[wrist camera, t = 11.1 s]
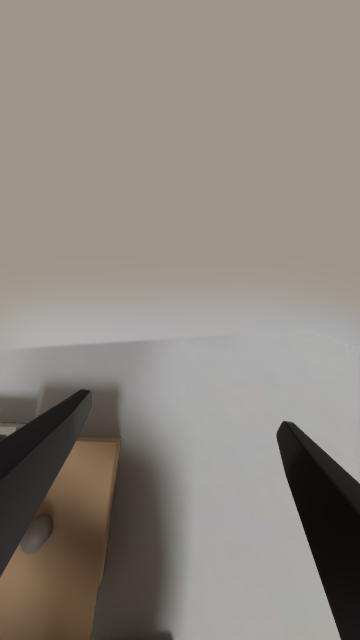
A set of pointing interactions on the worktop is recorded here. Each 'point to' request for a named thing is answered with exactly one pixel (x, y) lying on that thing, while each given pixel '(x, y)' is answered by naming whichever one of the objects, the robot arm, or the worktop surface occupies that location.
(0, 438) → the tray
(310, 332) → the worktop surface
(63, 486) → the lidded box
